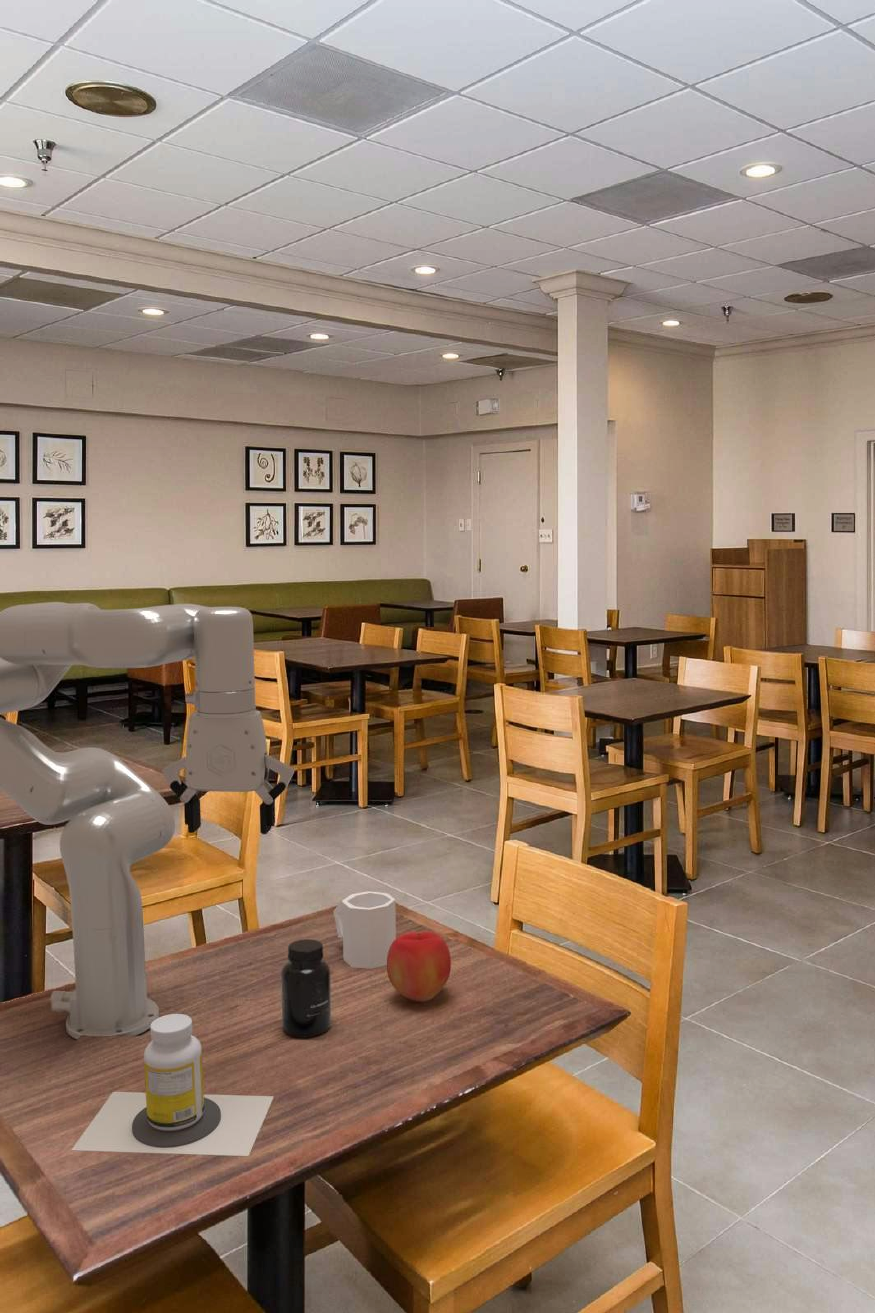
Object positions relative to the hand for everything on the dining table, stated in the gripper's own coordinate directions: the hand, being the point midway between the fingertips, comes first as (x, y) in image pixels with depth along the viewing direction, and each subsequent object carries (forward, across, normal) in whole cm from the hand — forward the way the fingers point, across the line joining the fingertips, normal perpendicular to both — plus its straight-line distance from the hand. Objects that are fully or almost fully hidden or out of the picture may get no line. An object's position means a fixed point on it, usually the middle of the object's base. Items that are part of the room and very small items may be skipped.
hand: (230, 830), depth 135 cm
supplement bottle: (+30, +8, +6) cm, 32 cm away
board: (+30, -2, -20) cm, 36 cm away
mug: (+30, +12, +32) cm, 45 cm away
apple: (+30, +23, +17) cm, 42 cm away
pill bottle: (+29, -2, -20) cm, 35 cm away
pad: (+29, -2, -20) cm, 35 cm away
